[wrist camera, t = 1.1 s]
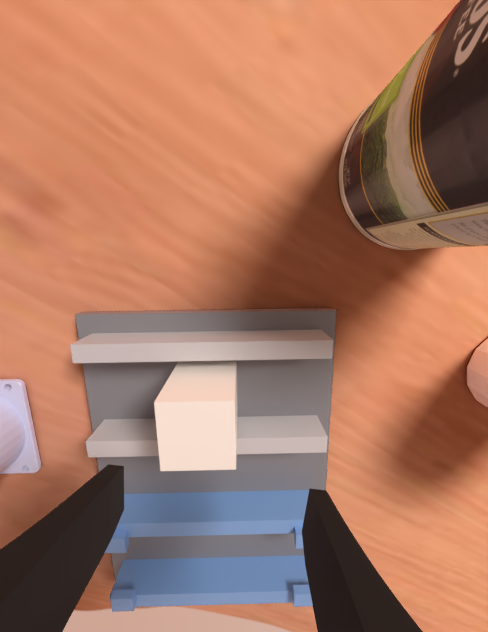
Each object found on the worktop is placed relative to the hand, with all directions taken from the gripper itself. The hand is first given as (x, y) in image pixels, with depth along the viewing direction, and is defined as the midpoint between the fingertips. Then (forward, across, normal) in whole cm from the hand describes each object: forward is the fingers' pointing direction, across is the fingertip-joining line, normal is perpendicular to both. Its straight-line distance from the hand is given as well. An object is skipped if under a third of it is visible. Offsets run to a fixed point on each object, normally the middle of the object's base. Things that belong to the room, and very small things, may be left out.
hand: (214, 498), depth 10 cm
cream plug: (+10, +2, 0) cm, 10 cm away
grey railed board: (+10, +1, +7) cm, 13 cm away
